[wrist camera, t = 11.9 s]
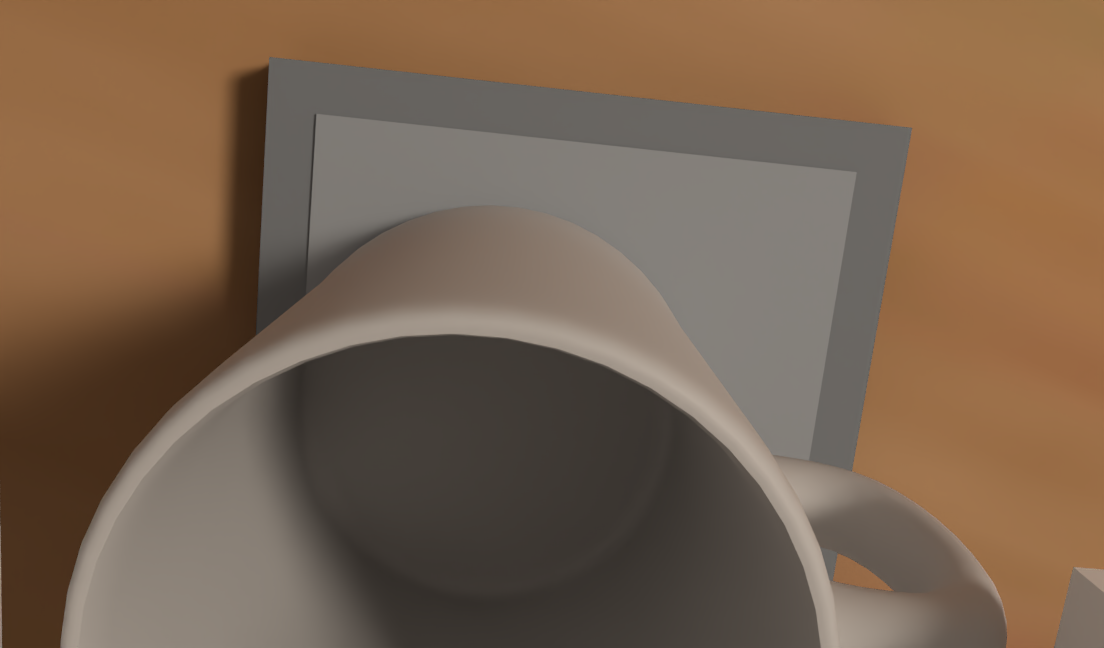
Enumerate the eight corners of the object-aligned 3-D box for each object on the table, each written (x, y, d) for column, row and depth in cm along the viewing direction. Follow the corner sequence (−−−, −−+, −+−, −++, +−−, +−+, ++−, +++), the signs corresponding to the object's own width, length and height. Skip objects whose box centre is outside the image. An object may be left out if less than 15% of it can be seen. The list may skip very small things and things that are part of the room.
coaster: (252, 665, 24) (237, 696, 23) (283, 60, 21) (268, 57, 20) (791, 711, 24) (805, 741, 23) (890, 127, 22) (913, 127, 20)
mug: (271, 564, 22) (27, 995, 11) (308, 175, 20) (61, 241, 10) (807, 629, 23) (1061, 1095, 12) (886, 256, 21) (1265, 406, 10)
